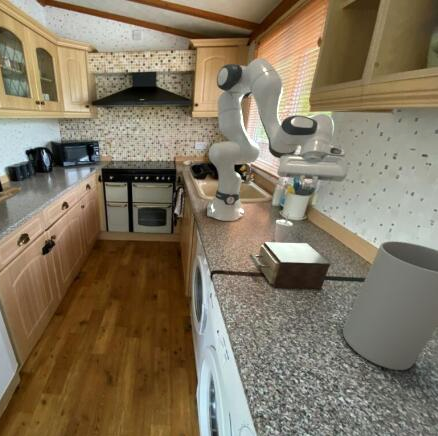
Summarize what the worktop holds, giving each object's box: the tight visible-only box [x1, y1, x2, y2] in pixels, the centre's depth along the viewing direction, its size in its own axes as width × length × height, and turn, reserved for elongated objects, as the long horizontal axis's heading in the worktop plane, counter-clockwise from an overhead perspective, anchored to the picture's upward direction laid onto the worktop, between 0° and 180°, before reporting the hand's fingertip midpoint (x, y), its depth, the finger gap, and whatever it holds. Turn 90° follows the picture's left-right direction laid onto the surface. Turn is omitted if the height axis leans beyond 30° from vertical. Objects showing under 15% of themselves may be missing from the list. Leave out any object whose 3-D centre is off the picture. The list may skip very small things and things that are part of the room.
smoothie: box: [273, 212, 294, 243], centre depth 102 cm, size 6×6×14 cm
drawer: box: [248, 244, 280, 285], centre depth 81 cm, size 18×11×8 cm, turn 88°
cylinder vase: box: [342, 240, 438, 371], centre depth 53 cm, size 12×12×25 cm
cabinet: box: [263, 241, 331, 290], centre depth 81 cm, size 15×13×10 cm
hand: (306, 188), depth 83 cm, fingers closed
